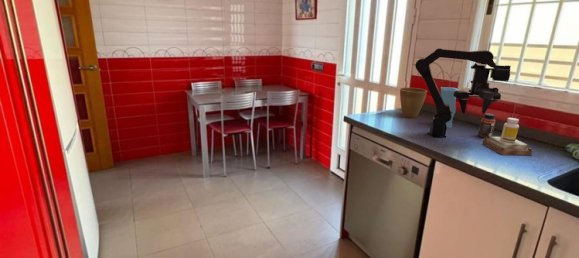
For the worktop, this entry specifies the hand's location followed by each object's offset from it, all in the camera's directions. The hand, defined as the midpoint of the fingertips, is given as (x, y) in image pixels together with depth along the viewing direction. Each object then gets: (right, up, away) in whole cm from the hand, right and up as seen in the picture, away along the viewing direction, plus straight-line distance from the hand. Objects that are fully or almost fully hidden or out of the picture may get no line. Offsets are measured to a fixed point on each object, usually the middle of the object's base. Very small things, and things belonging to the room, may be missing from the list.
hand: (473, 113), depth 145 cm
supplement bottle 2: (+11, -12, -7) cm, 18 cm away
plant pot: (-13, 0, +43) cm, 45 cm away
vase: (-1, -5, +27) cm, 27 cm away
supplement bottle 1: (+11, -11, +10) cm, 19 cm away
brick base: (+11, -16, -6) cm, 20 cm away
